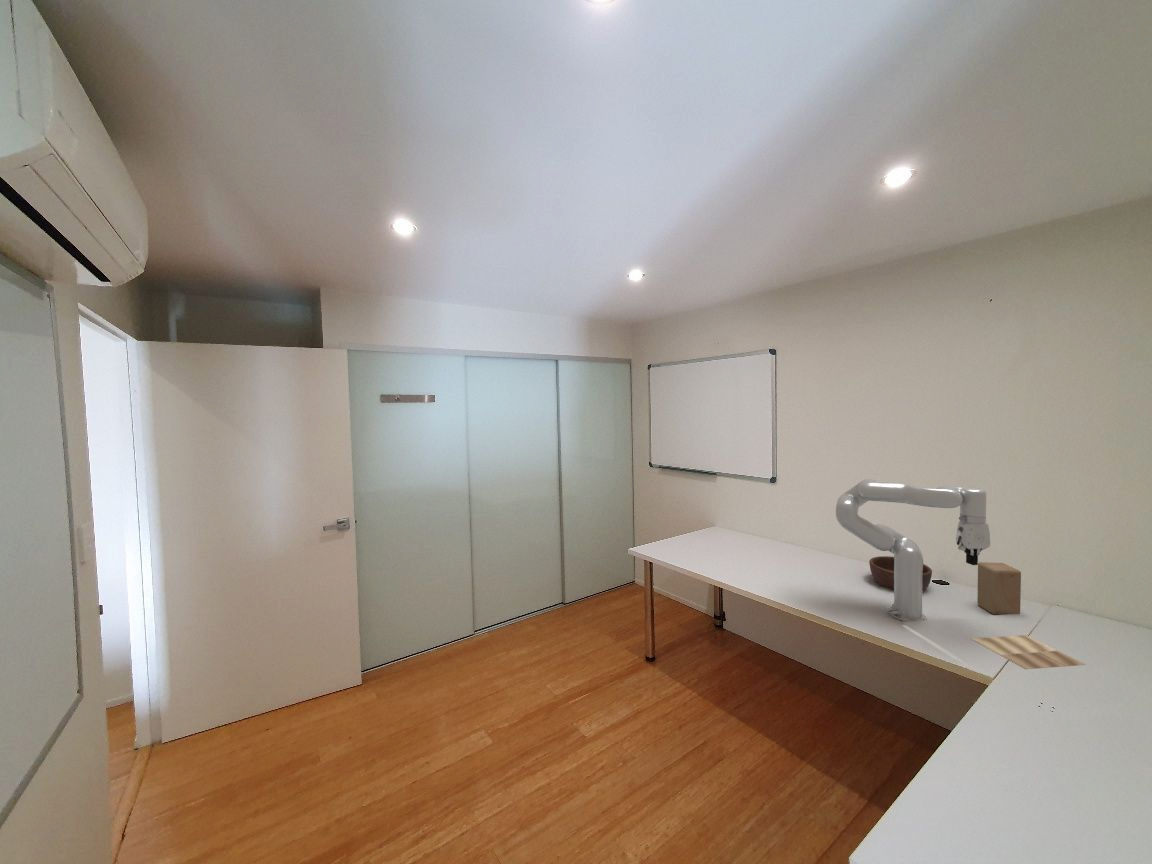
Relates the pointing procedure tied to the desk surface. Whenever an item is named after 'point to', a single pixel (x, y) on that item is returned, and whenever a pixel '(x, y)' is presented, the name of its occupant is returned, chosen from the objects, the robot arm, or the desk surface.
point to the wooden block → (999, 588)
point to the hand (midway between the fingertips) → (971, 563)
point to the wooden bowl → (885, 572)
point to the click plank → (1013, 644)
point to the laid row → (1042, 660)
